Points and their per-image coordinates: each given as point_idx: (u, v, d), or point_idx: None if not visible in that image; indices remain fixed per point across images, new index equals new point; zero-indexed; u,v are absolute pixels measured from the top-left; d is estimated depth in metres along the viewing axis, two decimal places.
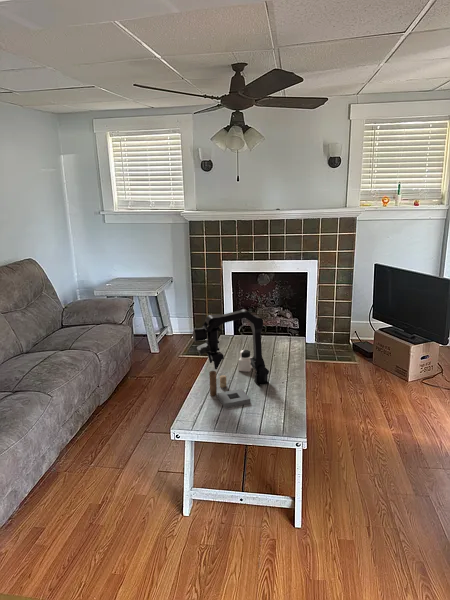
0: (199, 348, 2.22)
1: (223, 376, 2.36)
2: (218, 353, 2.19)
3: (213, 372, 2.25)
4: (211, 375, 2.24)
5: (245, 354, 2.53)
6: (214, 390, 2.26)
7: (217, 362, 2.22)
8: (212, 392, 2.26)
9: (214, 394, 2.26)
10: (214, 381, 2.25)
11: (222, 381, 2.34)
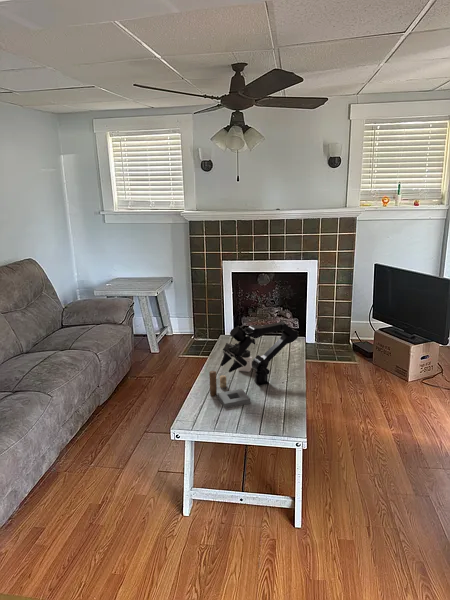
0: (229, 344, 2.25)
1: (223, 376, 2.36)
2: None
3: (213, 372, 2.25)
4: (211, 375, 2.24)
5: (245, 354, 2.53)
6: (214, 390, 2.26)
7: (235, 366, 2.24)
8: (212, 392, 2.26)
9: (214, 394, 2.26)
10: (214, 381, 2.25)
11: (222, 381, 2.34)
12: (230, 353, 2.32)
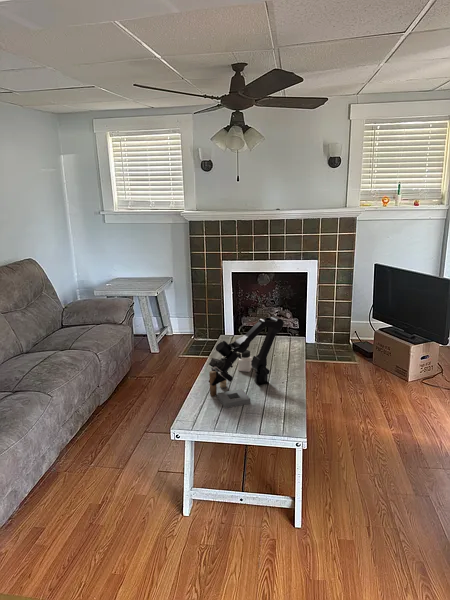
0: (215, 359, 2.23)
1: None
2: None
3: (213, 372, 2.25)
4: (211, 375, 2.24)
5: (245, 354, 2.53)
6: (214, 390, 2.26)
7: (219, 380, 2.24)
8: (212, 392, 2.26)
9: (214, 394, 2.26)
10: None
11: (222, 381, 2.34)
12: None
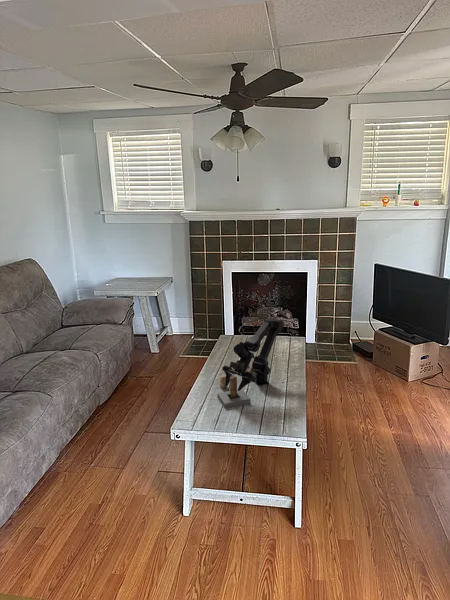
0: (235, 362, 2.17)
1: (223, 376, 2.36)
2: None
3: (234, 377, 2.19)
4: (233, 381, 2.17)
5: None
6: (236, 395, 2.20)
7: (244, 384, 2.17)
8: (234, 398, 2.19)
9: None
10: (236, 386, 2.18)
11: (222, 381, 2.34)
12: (231, 371, 2.24)
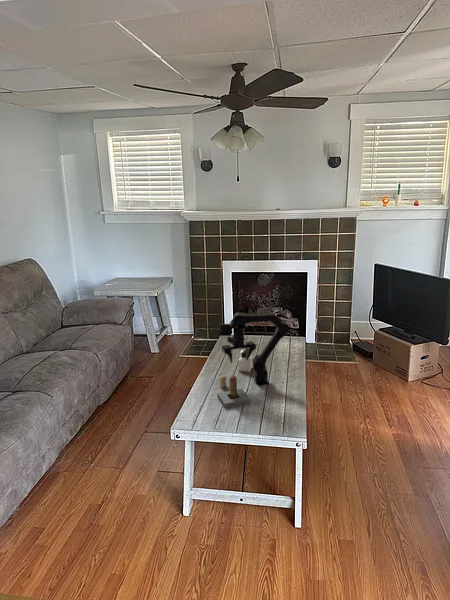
0: None
1: (223, 376, 2.36)
2: (226, 347, 2.32)
3: (234, 377, 2.19)
4: (233, 380, 2.17)
5: (245, 354, 2.53)
6: (236, 395, 2.20)
7: None
8: (234, 398, 2.19)
9: None
10: (236, 386, 2.18)
11: (222, 381, 2.34)
12: None
